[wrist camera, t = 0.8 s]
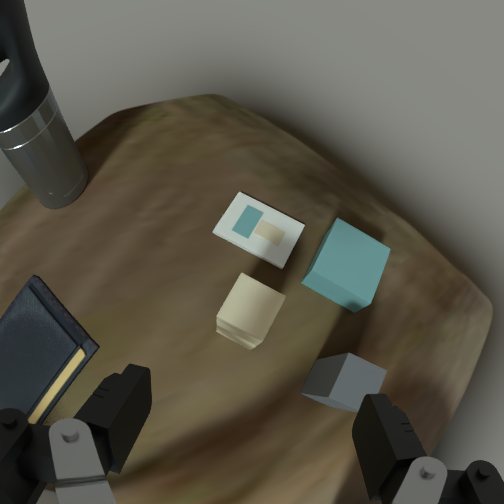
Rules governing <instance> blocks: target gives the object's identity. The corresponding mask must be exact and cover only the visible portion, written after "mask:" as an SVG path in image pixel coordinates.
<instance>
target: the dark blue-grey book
mask: <svg viewBox="0 0 504 504" xmlns="http://www.w3.org/2000/svg"><path fill="white" fill-rule="evenodd" d="M99 347H100V346H99V345H98V344H97V343H96V342H95V341H94V340H93V339H92V338H91V337H90V336H89V335H88V333H87V332H86V331H85V330H84V328H83V327H82V326H81V325H80V324H79V323H78V322H77V321H76V320H75V318H74V317H73V316H72V315H71V314H70V313H69V312H68V310H67V309H66V308H65V307H64V306H63V305H62V303H61V302H60V301H59V300H58V299H57V298H56V296H55V295H54V294H53V293H52V292H51V290H50V289H49V288H48V287H47V285H46V284H45V283H44V282H43V281H42V280H41V278H40V277H38V276H35V275H33V276H32V277H31V278H30V279H29V281H28V282H27V283H26V284H25V285H24V287H23V288H22V289H21V291H20V292H19V293H18V295H17V296H16V297H15V299H14V300H13V302H12V303H11V304H10V306H9V307H8V309H7V310H6V312H5V313H4V315H3V316H2V318H1V319H0V410H2V409H5V408H15V409H18V410H20V411H22V412H23V413H24V414H25V415H26V416H27V419H28V421H29V423H32V424H37V425H41V424H42V423H43V422H44V420H45V419H46V417H47V416H48V415H49V413H50V412H51V411H52V409H53V408H54V406H55V405H56V404H57V402H58V401H59V400H60V398H61V397H62V396H63V394H64V393H65V392H66V390H67V389H68V388H69V386H70V385H71V384H72V382H73V381H74V380H75V378H76V377H77V376H78V374H79V373H80V372H81V370H82V369H83V368H84V367H85V365H86V364H87V363H88V361H89V360H90V359H91V358H92V356H93V355H94V354H95V352H96V351H97V350H98V349H99Z"/></svg>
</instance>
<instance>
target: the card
mask: <svg viewBox="0 0 504 504" xmlns="http://www.w3.org/2000/svg"><path fill="white" fill-rule="evenodd" d="M304 226H305V225H304V224H302V223H300V222H298V221H296V220H294V219H292V218H290V217H288V216H286V215H284V214H282V213H281V212H279V211H277V210H275V209H273V208H271V207H269V206H267V205H265V204H263V203H261V202H259V201H257V200H255V199H253V198H251V197H249V196H247V195H245V194H243V193H241V192H239V193H238V194H237V196H236V197H235V199H234V200H233V202H232V203H231V205H230V206H229V208H228V209H227V211H226V212H225V214H224V215H223V217H222V218H221V220H220V221H219V223H218V224H217V226H216V227H215V229H214V230H213V233H214V234H216V235H218V236H220V237H222V238H224V239H225V240H227V241H229V242H231V243H233V244H235V245H237V246H239V247H241V248H242V249H244V250H246V251H248V252H250V253H252V254H254V255H256V256H258V257H259V258H261V259H263V260H265V261H267V262H269V263H271V264H273V265H275V266H276V267H278V268H280V269H283V267H284V265H285V263H286V261H287V259H288V257H289V255H290V253H291V251H292V249H293V247H294V246H295V244H296V242H297V240H298V238H299V236H300V234H301V232H302V230H303V228H304Z"/></svg>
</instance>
